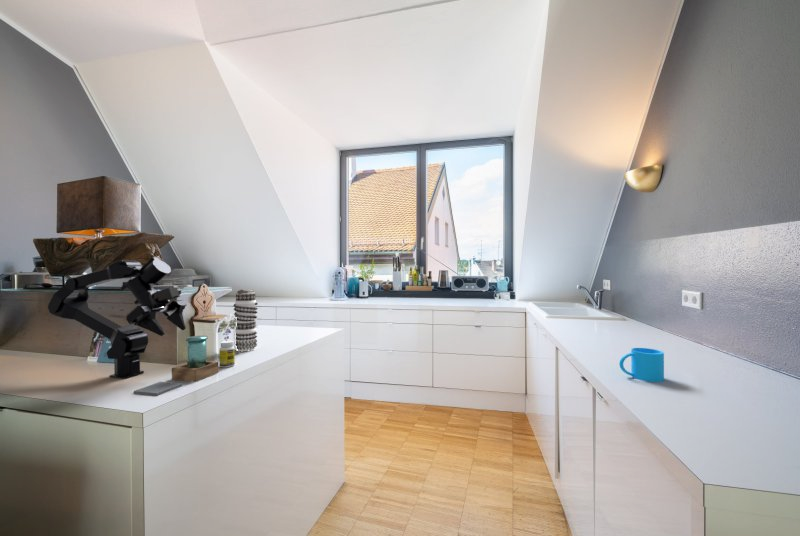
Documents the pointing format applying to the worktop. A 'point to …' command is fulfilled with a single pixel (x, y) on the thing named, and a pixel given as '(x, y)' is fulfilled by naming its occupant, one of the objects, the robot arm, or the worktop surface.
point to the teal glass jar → (196, 351)
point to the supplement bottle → (227, 354)
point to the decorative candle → (245, 319)
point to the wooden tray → (194, 372)
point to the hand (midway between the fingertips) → (174, 332)
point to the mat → (158, 388)
